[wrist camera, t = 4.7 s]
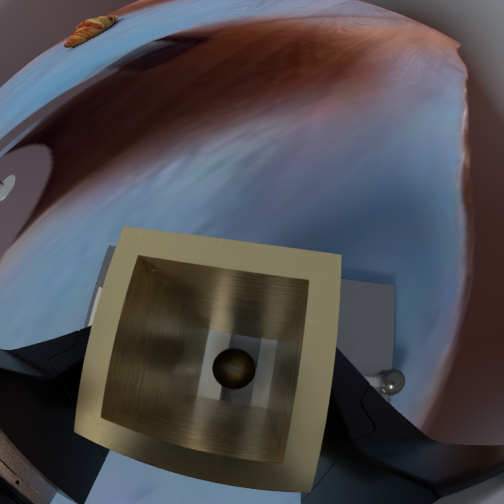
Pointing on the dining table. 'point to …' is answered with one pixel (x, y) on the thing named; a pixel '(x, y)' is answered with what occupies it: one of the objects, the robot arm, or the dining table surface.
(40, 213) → the dining table surface
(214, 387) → the grey base plate
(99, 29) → the croissant
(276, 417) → the sleeve
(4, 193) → the goblet set
